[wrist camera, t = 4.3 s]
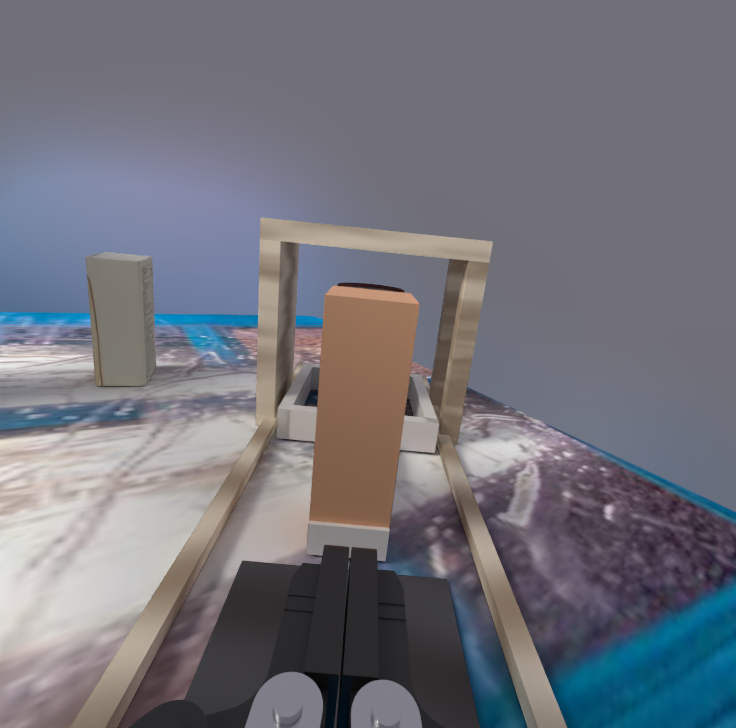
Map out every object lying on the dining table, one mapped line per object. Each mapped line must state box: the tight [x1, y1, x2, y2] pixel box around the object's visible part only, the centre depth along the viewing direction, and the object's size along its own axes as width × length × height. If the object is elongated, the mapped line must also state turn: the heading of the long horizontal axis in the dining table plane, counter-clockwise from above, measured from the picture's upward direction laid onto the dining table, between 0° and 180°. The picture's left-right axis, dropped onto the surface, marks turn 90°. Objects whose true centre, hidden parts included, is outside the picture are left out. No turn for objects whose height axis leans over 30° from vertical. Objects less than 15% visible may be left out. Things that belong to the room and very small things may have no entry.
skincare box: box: [86, 252, 156, 386], centre depth 40 cm, size 6×4×12 cm
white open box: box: [276, 286, 439, 561], centre depth 30 cm, size 24×12×13 cm, turn 179°
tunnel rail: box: [70, 218, 567, 728], centre depth 29 cm, size 39×17×16 cm, turn 179°
